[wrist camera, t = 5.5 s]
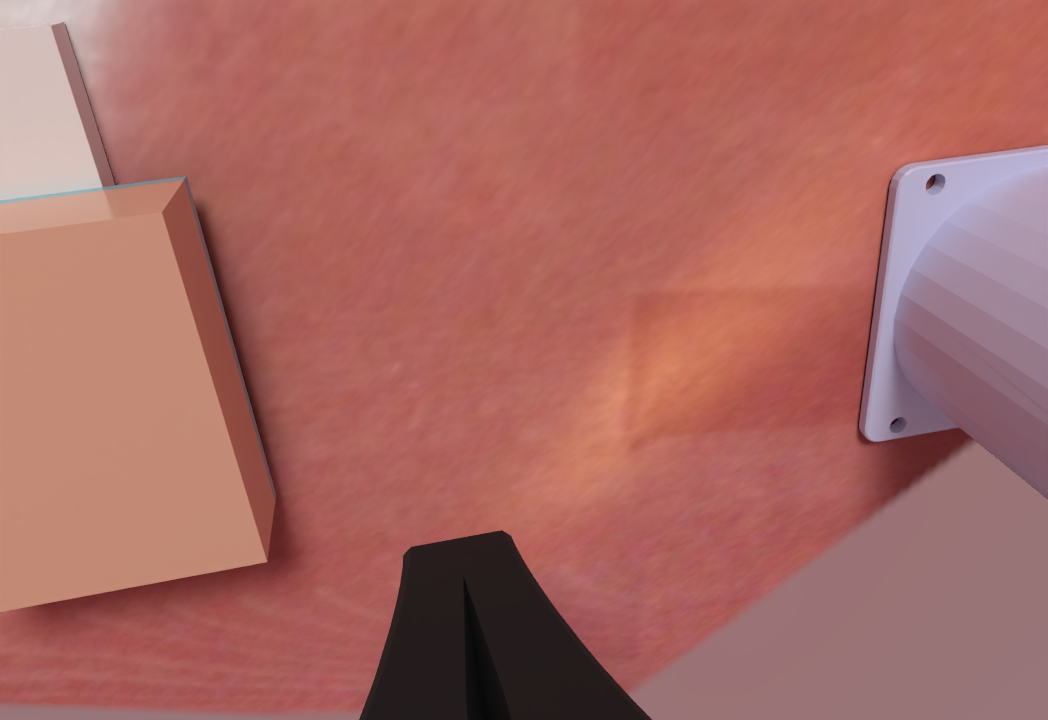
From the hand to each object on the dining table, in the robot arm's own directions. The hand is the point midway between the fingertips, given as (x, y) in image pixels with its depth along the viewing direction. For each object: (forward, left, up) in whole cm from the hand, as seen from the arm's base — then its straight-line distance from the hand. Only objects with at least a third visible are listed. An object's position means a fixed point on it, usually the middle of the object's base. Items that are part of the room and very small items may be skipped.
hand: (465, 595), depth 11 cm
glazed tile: (+4, 0, -8) cm, 9 cm away
